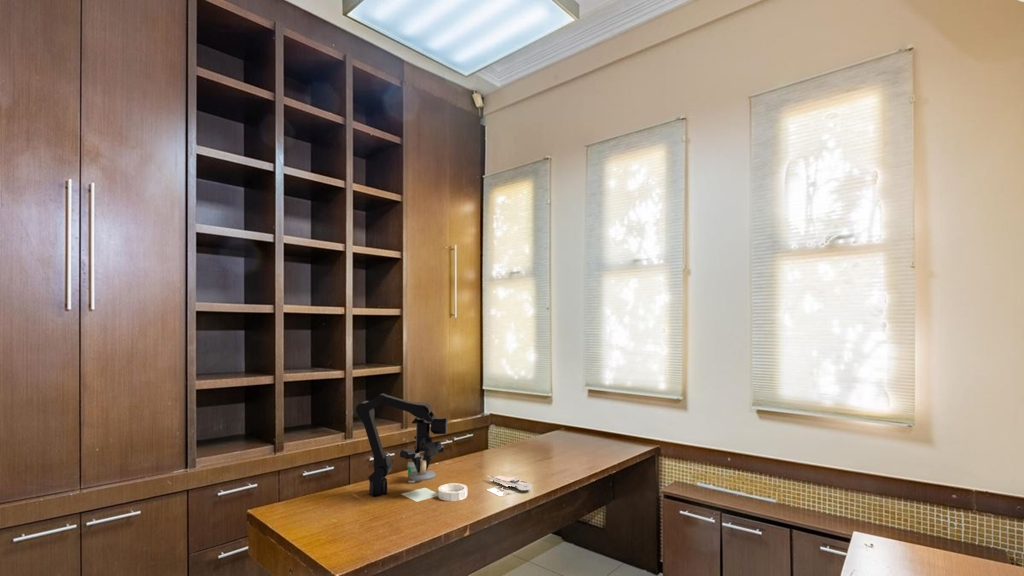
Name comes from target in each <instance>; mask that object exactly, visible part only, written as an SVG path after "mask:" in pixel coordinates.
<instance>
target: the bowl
mask: <svg viewBox="0 0 1024 576" xmlns="http://www.w3.org/2000/svg"><path fill="white" fill-rule="evenodd" d="M468 488H469V487H468V486H467V485H466V484H462V483H457V482H456V483H454V482H453V483H446V484H441V485H440V486H439V487H437V493H438V496H437V497H438V498H439V499H440V500H442V501H445V502H446V501H447V502H457V501H462V500H465V499H466V498H467V497H468V491H469V490H468Z"/></svg>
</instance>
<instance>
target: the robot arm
mask: <svg viewBox="0 0 1024 576" xmlns="http://www.w3.org/2000/svg"><path fill="white" fill-rule="evenodd" d="M380 405H384V406H387V407H390V408H394V409H397V410H402V411H403V412H408V413H409V414H411V415H413V416H414V420H412V421H411V424H415V425H416V426H415V427H416V431H415V435H414V439H415V445H414V447H413V449H411V448H405V449H404V448H403V449H401V450H400V452H399V457H400V458H402V459H405V460H411V462H412V461H413V463H414V465H415V467H416V470H417V472H418V473H420V460H421V458H422V457H420V456H421V454H423V455H422V456H423V457H424V460H426V471H427V470H428V468H429V466H430V464H431V460H432V458H433V457H434V456H436V455H437V454H438V453H439V454H440V453H444V452H445V446H444V445H443V444H442V442H441V441H440V440H437V441H433V438H432V436H431V433H432V434H433V435H447V434H448V432H449V424H448V417H437V416H436V415H435V414H434V412H433V411H432V407H431V404H429V403H428V402H419V401H418V402H417V401H410V400H406V399H402V398H399V397H395V396H392V395H388V394H386V393H381V394H378V395H377V396H376V397H374V398H373V399H371V400H364V401H363V402H360V403H358V404H357V405H356V407H355V414H356V415H357V417H358V419H359V421H360V422H361V423H362V424H363V427H364V429H365V433H366V436H367V437H366V438H367V440H368V443H369V446H370V449H371V453H372V456H373V463H372V465H373V466H372V467H373V472H372V473H371V474H370V475H369V476H368V480H369V481H368V482H369V486H368V487H369V488H368V489H369V491H368V492H367V493H366V494H367V495H369V496H371V497H373V498H377V497H381V496H385V495H388V494H389V492H388V481H387V480H388V479H387V478H386V477H387V476H388V474H389V473H391V471H392V468H393V464H394V462H393V461H392V459H391V454H388V455H387V454H386V453H385V451H384V447H383V445H382V441H381V437H380V435H379V431H378V428H377V425H376V421H375V408H376V407H379V406H380Z"/></svg>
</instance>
